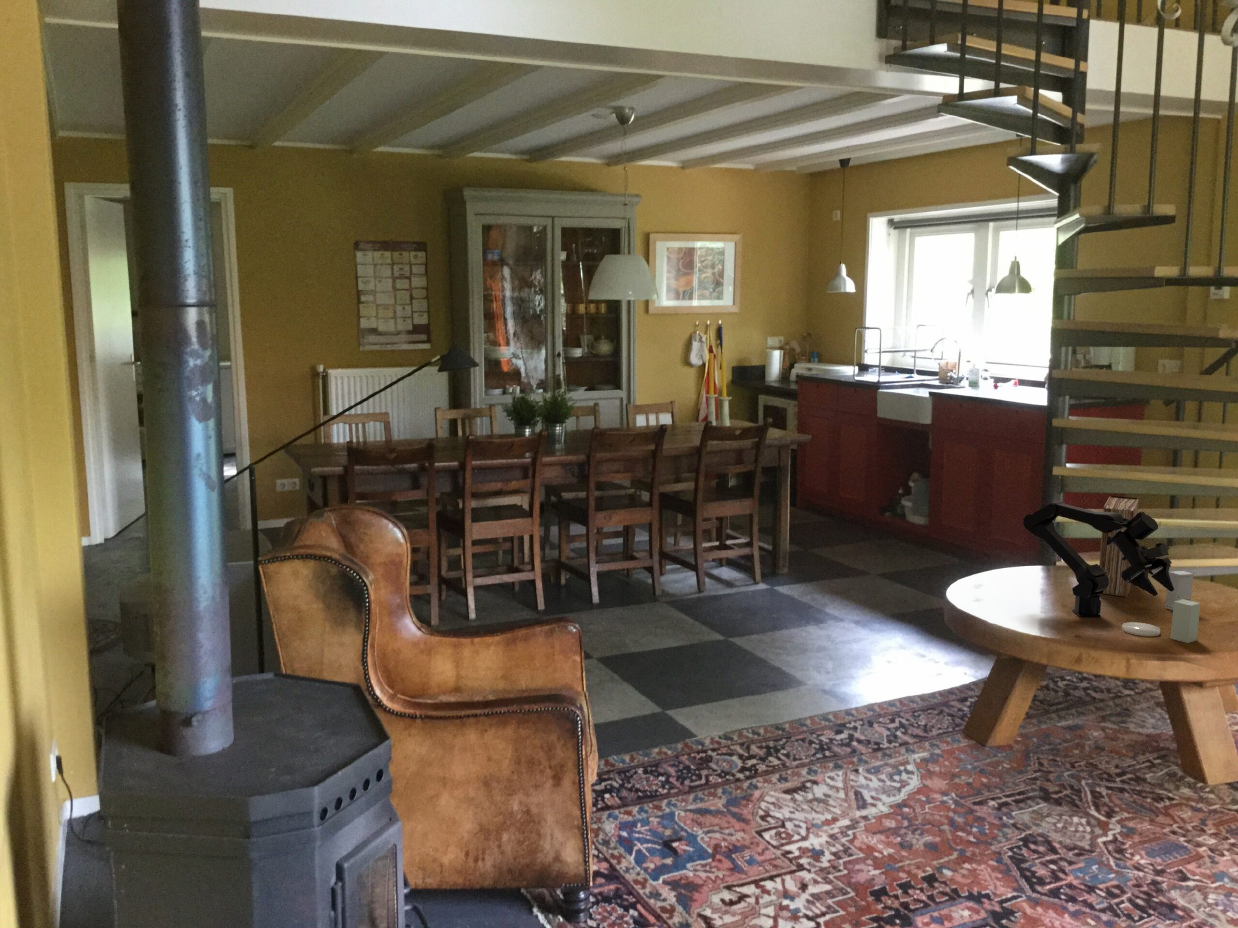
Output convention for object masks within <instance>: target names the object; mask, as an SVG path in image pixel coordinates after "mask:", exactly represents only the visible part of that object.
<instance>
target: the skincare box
mask: <svg viewBox="0 0 1238 928" xmlns="http://www.w3.org/2000/svg"><path fill="white" fill-rule="evenodd" d="M1169 576H1170V579H1171V582H1172V584H1173V587H1174V591H1172V592H1171V591H1169V590H1168V589H1166V595H1165V604H1164V608H1165V609H1168V610H1170V611H1173V606H1174V602H1175V601H1178V600H1181V599H1184V600H1189V601H1192V593H1193V592H1192V591H1193V582H1194V581H1193V580H1194V573H1191V572H1189V571H1186V570H1175V571H1169Z"/></svg>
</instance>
